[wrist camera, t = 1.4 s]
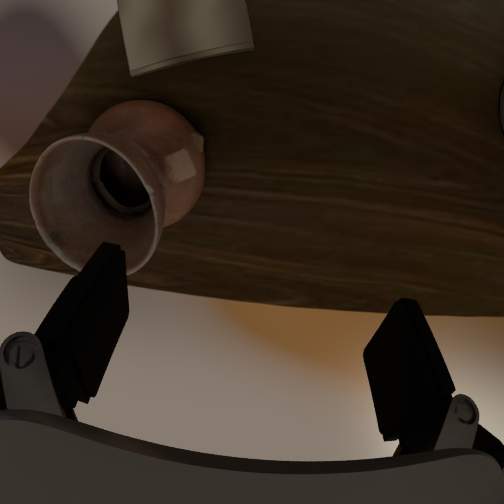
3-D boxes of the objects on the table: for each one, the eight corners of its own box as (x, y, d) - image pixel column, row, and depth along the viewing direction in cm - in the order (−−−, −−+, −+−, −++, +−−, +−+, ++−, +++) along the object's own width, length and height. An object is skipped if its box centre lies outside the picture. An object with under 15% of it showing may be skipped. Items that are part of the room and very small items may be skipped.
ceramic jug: (195, 71, 27) (138, 74, 15) (240, 193, 34) (219, 269, 22) (67, 136, 31) (-13, 179, 19) (113, 232, 38) (59, 303, 26)
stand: (237, -40, 19) (233, -53, 16) (255, 49, 25) (253, 46, 22) (126, -10, 21) (110, -17, 18) (142, 75, 27) (126, 77, 23)
